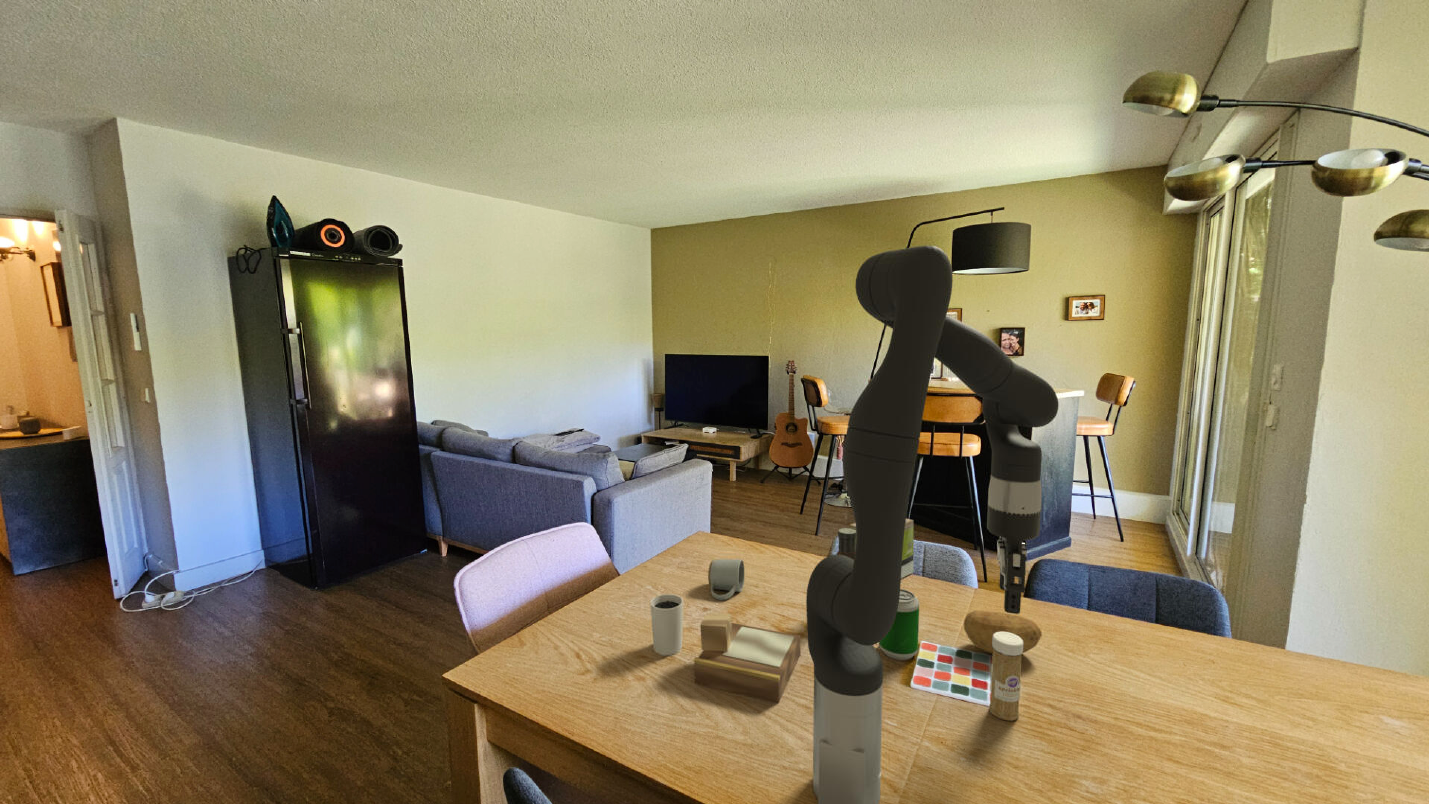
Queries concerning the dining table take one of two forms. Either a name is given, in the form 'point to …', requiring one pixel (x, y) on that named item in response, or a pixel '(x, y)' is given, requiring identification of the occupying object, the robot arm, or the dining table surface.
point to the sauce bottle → (847, 542)
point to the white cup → (667, 623)
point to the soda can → (903, 629)
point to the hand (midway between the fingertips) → (1009, 600)
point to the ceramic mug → (726, 576)
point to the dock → (751, 663)
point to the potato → (999, 628)
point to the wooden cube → (716, 632)
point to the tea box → (904, 548)
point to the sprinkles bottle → (1006, 675)
